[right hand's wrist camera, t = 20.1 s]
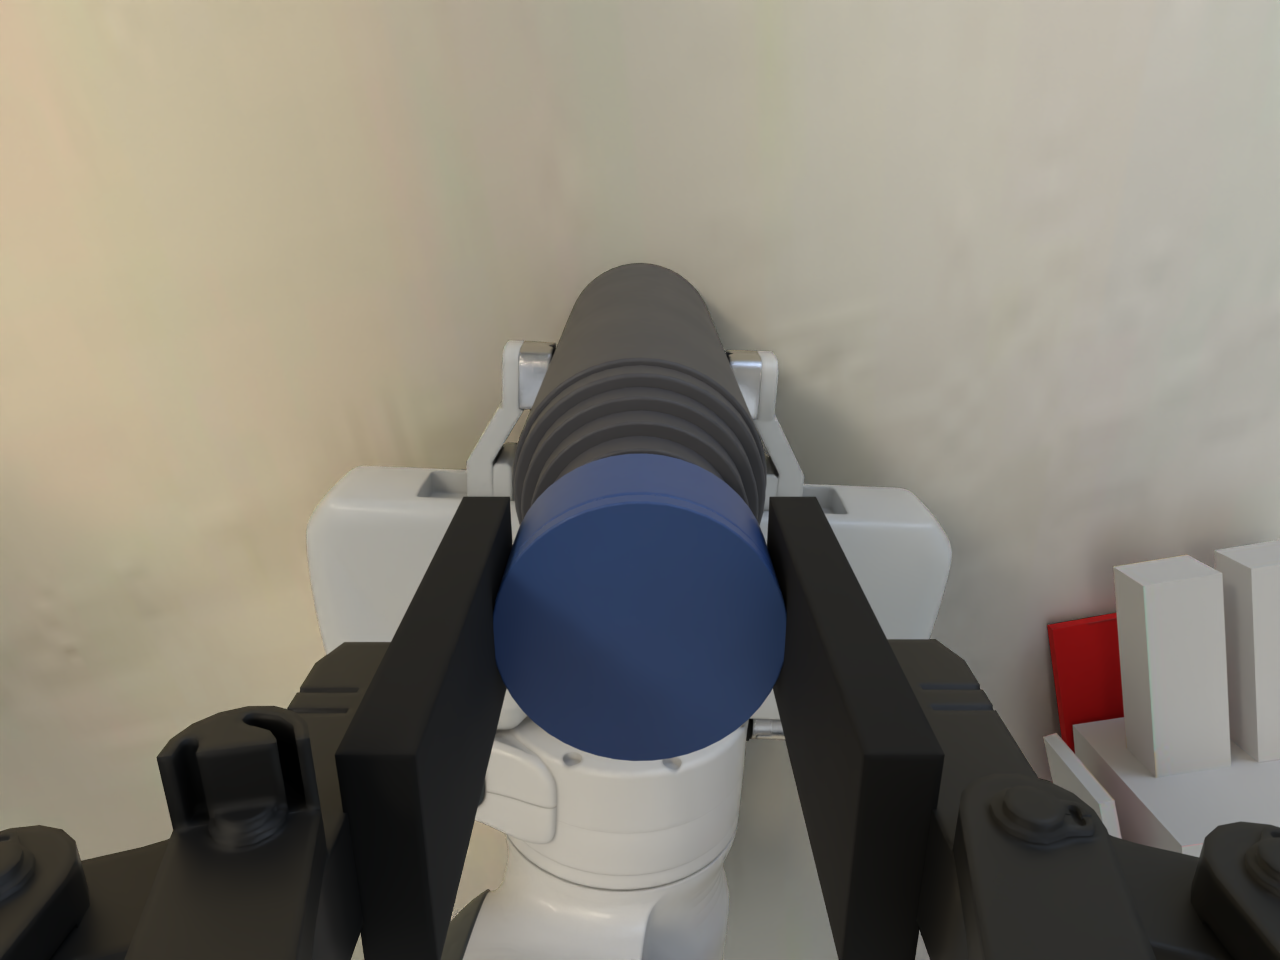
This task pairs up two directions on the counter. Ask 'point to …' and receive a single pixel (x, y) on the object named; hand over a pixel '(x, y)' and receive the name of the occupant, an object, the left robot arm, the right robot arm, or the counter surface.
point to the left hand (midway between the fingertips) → (639, 348)
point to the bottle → (639, 389)
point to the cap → (639, 610)
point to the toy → (1174, 699)
